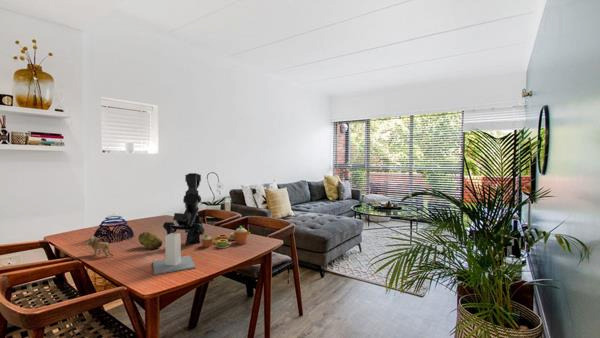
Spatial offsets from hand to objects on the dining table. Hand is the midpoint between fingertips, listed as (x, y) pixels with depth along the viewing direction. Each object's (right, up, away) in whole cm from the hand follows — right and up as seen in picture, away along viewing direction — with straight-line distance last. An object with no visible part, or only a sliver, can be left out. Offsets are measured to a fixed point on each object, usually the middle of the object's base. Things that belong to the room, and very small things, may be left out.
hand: (176, 244), depth 135 cm
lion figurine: (-41, -8, +10) cm, 43 cm away
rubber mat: (0, -9, -2) cm, 9 cm away
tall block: (0, -8, -2) cm, 8 cm away
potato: (-23, -8, +23) cm, 34 cm away
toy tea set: (+15, -8, +31) cm, 35 cm away
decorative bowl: (-54, -7, +41) cm, 68 cm away
